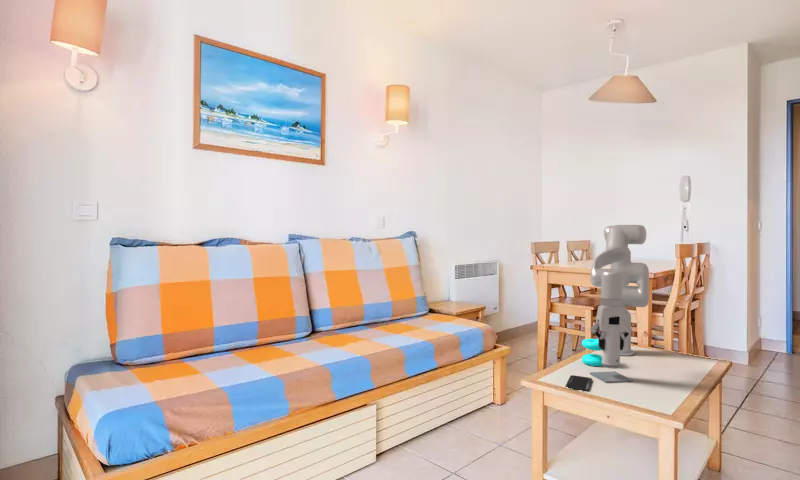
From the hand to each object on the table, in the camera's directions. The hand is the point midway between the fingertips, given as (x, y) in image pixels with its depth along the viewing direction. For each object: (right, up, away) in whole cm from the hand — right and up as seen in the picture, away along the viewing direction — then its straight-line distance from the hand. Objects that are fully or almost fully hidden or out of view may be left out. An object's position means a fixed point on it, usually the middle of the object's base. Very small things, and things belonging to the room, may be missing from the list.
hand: (611, 348), depth 177 cm
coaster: (0, -11, 0) cm, 11 cm away
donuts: (+2, -11, +19) cm, 22 cm away
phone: (-15, -12, -7) cm, 21 cm away
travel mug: (0, -7, 0) cm, 7 cm away
